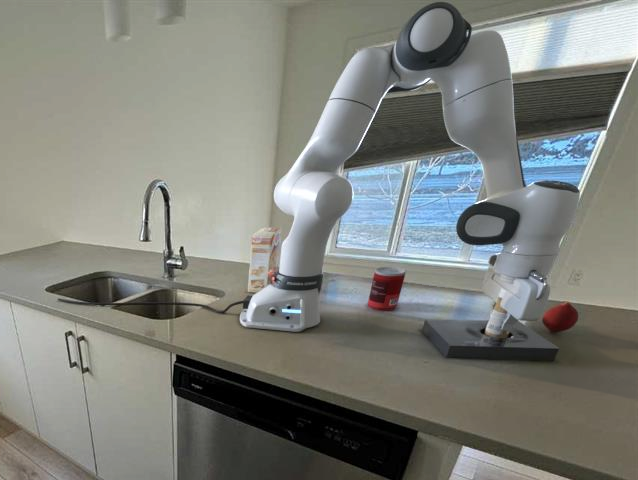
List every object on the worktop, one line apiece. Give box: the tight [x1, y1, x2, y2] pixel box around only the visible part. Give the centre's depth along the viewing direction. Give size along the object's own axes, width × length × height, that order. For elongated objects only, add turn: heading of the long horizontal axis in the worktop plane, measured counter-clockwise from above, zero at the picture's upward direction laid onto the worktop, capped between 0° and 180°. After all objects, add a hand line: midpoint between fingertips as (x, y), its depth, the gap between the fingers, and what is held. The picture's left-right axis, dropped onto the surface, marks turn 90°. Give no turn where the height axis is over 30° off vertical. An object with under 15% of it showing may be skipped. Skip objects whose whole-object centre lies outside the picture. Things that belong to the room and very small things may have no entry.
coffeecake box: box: [247, 227, 283, 294], centre depth 142 cm, size 15×7×20 cm, turn 149°
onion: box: [542, 300, 579, 334], centre depth 97 cm, size 6×6×8 cm
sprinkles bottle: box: [484, 288, 511, 338], centre depth 93 cm, size 5×5×13 cm
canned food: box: [367, 266, 407, 312], centre depth 119 cm, size 8×8×11 cm
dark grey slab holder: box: [421, 319, 560, 362], centre depth 96 cm, size 20×16×3 cm
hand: (499, 324), depth 94 cm, fingers closed on sprinkles bottle, 4 cm apart
